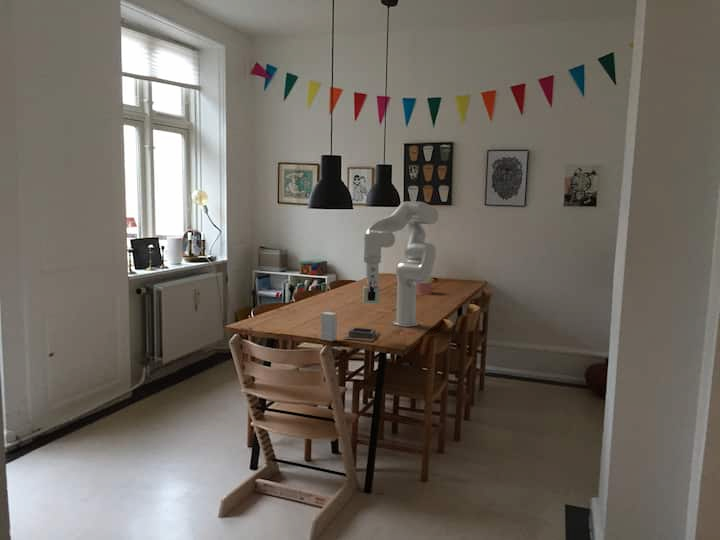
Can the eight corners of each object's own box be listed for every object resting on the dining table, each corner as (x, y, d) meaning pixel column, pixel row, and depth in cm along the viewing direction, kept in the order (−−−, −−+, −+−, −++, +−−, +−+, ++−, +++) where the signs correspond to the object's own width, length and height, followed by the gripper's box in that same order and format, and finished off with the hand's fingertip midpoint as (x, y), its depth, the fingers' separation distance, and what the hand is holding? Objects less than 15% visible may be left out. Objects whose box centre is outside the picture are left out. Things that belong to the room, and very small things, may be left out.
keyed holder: (352, 331, 270) (352, 325, 270) (379, 333, 267) (379, 327, 267) (343, 339, 255) (344, 333, 254) (372, 342, 252) (372, 335, 251)
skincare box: (337, 339, 254) (337, 313, 253) (331, 341, 251) (331, 314, 249) (326, 337, 258) (326, 311, 256) (320, 339, 254) (320, 312, 252)
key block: (378, 301, 261) (378, 285, 260) (379, 303, 257) (379, 287, 256) (362, 301, 261) (363, 285, 260) (363, 302, 256) (364, 287, 255)
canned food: (434, 293, 382) (435, 275, 380) (423, 295, 374) (424, 276, 372) (422, 291, 390) (422, 273, 388) (410, 292, 382) (411, 274, 380)
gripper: (382, 261, 248) (380, 303, 251) (379, 257, 265) (377, 296, 267) (365, 261, 248) (363, 302, 250) (362, 257, 264) (361, 296, 267)
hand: (371, 299), depth 259 cm, fingers closed on key block, 4 cm apart
